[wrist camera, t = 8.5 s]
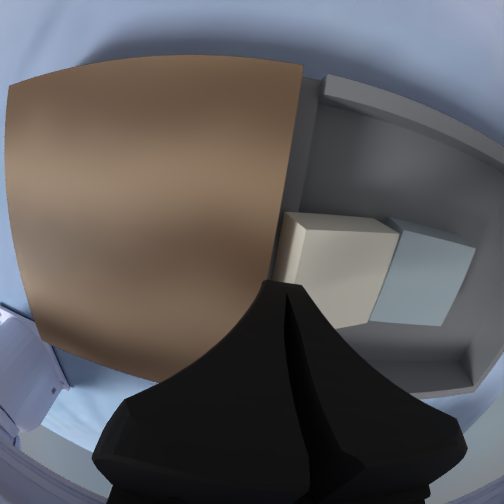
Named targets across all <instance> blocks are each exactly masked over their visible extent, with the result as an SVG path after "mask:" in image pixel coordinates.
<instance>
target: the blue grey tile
mask: <svg viewBox="0 0 504 504" xmlns="http://www.w3.org/2000/svg"><path fill="white" fill-rule="evenodd" d="M386 226H388V227H389V228H391V229H393V230H394V231H396V232H398V233H399V234H400V235H399V239H398V242H397V245H396V248H395V251H394V254H393V257H392V260H391V263H390V266H389V268H388V271H387V274H386V277H385V279H384V282H383V285H382V287H381V290H380V293H379V295H378V298H377V300H376V303H375V305H374V308H373V310H372V312H371V315H370V317H369V320H370V321H379V322H390V323H402V324H415V325H430V326H441V325H442V323H443V321H444V319H445V317H446V315H447V313H448V312H449V310H450V308H451V306H452V304H453V302H454V299H455V297H456V295H457V293H458V291H459V289H460V287H461V284H462V282H463V280H464V278H465V275H466V273H467V270H468V268H469V266H470V263H471V261H472V258H473V255H474V253H475V250H476V248H475V247H473V246H472V245H471V244H470V243H468V242H467V241H466V240H464V239H463V238H462V237H460V236H459V235H457V234H454V233H450V232H447V231H443V230H440V229H436V228H432V227H428V226H425V225H421V224H417V223H413V222H409V221H405V220H401V219H397V218H393V217H389V216H388V220H387V223H386Z"/></svg>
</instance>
